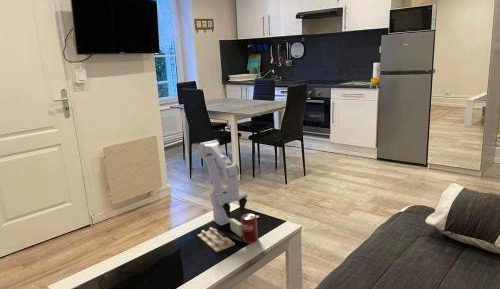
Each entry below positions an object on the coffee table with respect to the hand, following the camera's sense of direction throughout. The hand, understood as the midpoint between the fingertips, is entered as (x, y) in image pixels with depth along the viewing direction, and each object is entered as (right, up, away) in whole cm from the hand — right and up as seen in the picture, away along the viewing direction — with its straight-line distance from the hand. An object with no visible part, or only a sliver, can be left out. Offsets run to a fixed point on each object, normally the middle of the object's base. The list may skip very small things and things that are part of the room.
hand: (235, 215), depth 181 cm
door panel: (+1, -9, +2) cm, 10 cm away
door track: (-9, -11, -4) cm, 15 cm away
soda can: (+7, -11, -6) cm, 14 cm away
